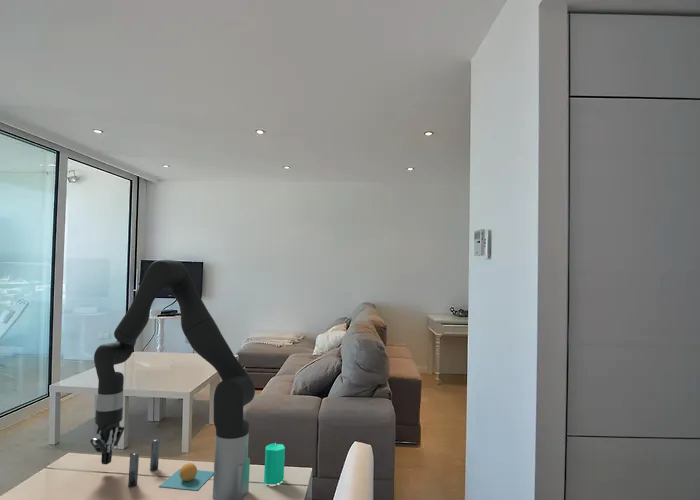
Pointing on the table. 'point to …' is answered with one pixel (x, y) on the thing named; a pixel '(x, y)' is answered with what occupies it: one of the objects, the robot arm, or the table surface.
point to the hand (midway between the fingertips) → (106, 463)
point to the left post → (133, 469)
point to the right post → (154, 454)
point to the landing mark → (187, 485)
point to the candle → (274, 463)
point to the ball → (188, 472)
